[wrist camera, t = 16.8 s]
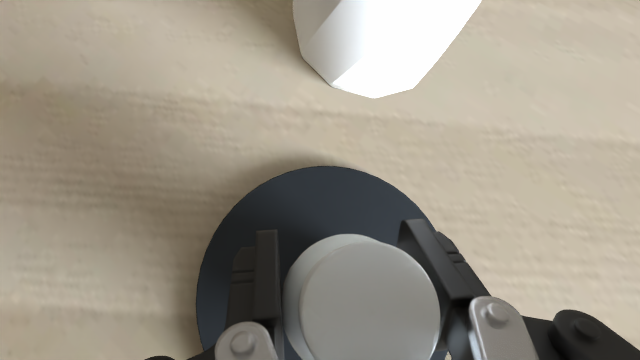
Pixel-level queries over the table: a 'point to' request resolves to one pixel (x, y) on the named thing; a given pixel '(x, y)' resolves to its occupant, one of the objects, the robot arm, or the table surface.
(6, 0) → the table surface
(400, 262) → the pill bottle
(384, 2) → the vase
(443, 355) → the rubber mat
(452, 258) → the robot arm
